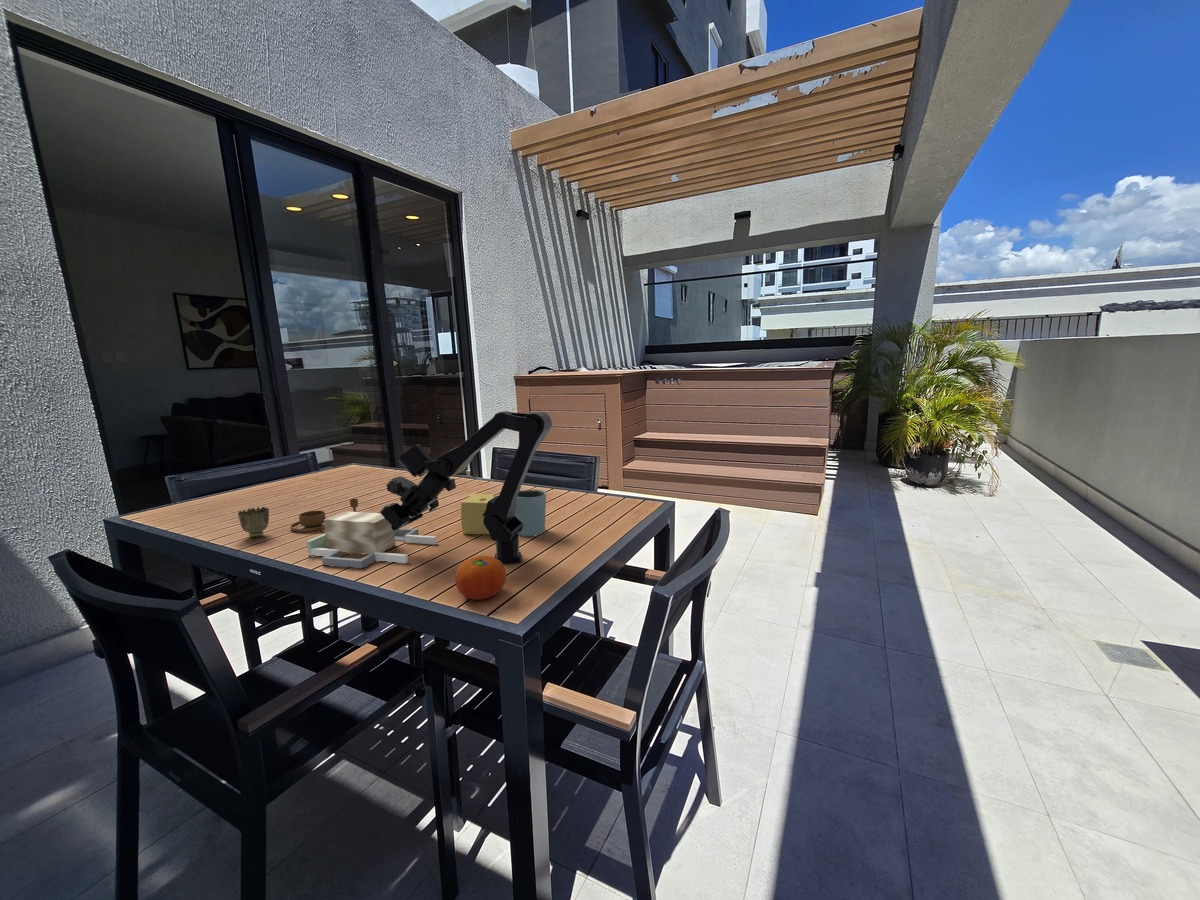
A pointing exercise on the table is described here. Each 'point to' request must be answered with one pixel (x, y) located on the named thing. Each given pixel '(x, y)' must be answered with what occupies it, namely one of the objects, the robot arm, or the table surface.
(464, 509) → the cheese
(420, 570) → the table surface
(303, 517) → the place setting
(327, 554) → the low angular wall frame
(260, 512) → the cup
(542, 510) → the blue-gray cylindrical container
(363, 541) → the birch block
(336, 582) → the table surface
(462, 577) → the fruit
